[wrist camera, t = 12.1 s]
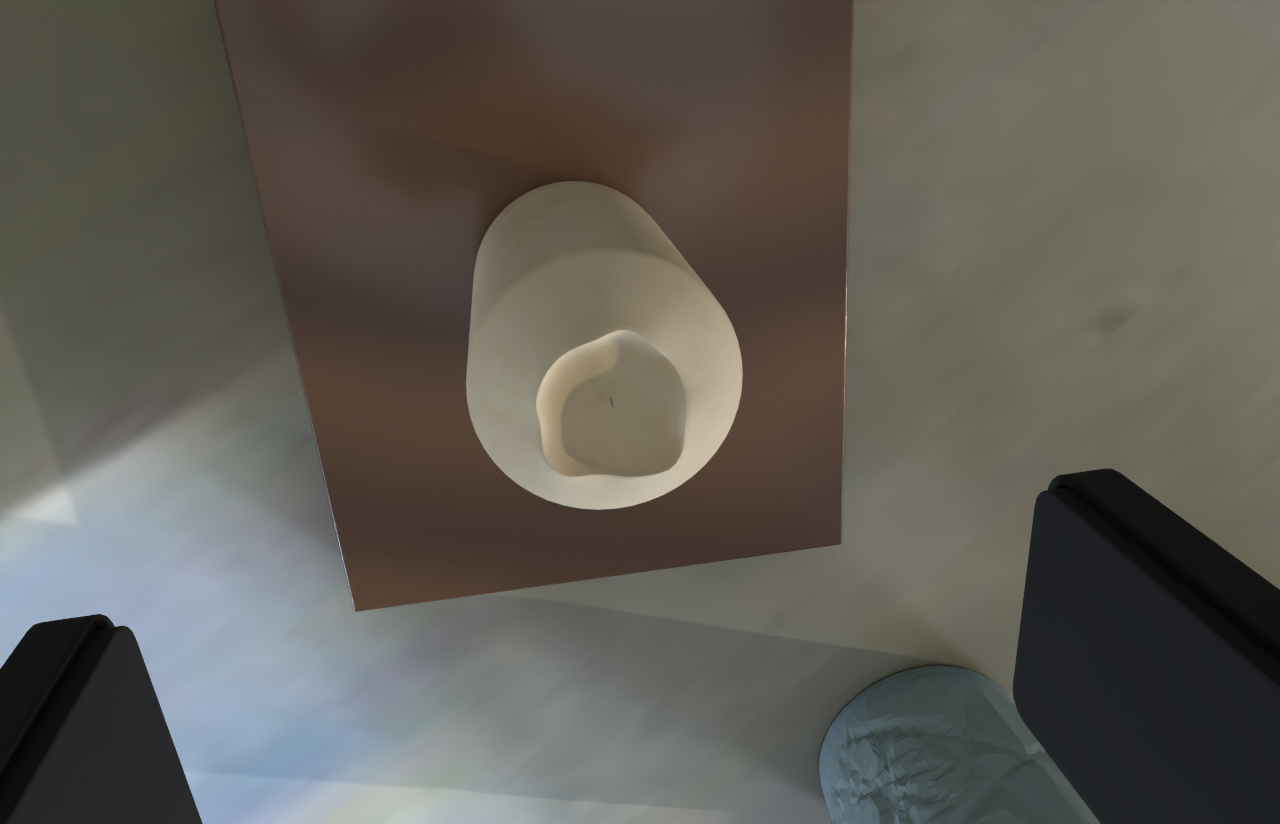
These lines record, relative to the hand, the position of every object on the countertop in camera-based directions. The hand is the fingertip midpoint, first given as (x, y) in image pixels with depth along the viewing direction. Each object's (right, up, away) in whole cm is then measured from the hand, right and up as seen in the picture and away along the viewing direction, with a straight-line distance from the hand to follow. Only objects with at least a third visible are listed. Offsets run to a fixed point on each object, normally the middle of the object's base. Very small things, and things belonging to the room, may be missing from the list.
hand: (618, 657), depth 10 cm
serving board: (-2, +7, +19) cm, 20 cm away
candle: (-2, +6, +17) cm, 18 cm away
